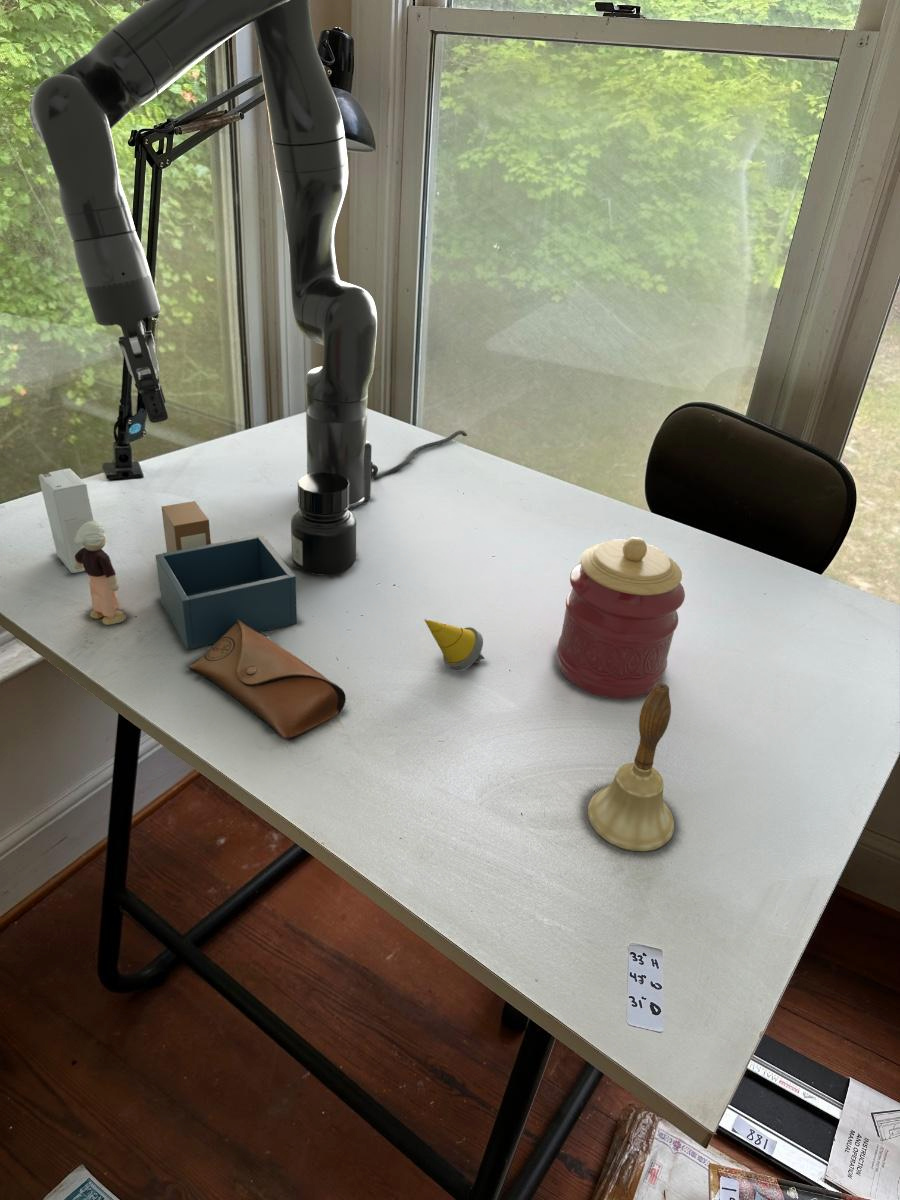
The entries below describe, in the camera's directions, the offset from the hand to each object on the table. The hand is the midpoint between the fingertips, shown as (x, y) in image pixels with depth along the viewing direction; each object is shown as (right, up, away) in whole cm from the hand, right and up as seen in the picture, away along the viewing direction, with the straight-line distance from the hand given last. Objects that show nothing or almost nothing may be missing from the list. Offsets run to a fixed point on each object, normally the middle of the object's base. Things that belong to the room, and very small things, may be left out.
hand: (158, 412), depth 106 cm
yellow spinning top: (+37, -32, -6) cm, 49 cm away
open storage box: (+9, -25, 0) cm, 27 cm away
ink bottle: (+19, -18, +12) cm, 29 cm away
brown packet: (+1, -19, +9) cm, 21 cm away
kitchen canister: (+56, -32, -4) cm, 64 cm away
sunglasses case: (+16, -33, -12) cm, 39 cm away
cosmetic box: (-13, -18, +8) cm, 24 cm away
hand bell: (+54, -45, -25) cm, 74 cm away
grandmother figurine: (-6, -25, -2) cm, 26 cm away
